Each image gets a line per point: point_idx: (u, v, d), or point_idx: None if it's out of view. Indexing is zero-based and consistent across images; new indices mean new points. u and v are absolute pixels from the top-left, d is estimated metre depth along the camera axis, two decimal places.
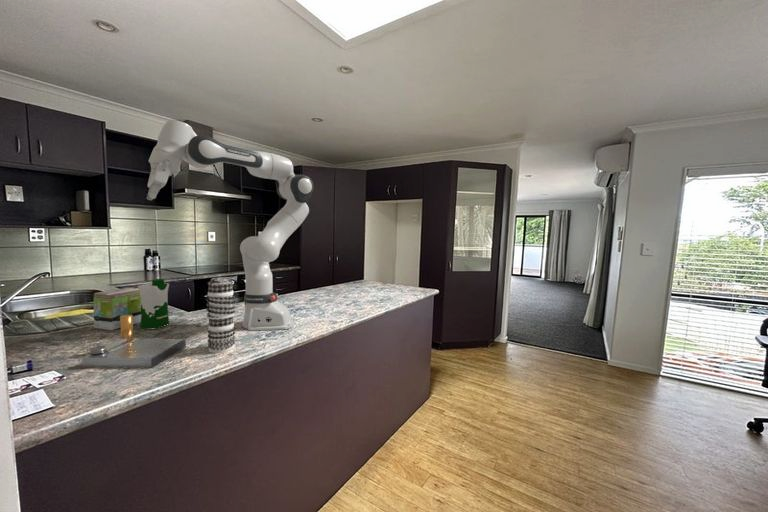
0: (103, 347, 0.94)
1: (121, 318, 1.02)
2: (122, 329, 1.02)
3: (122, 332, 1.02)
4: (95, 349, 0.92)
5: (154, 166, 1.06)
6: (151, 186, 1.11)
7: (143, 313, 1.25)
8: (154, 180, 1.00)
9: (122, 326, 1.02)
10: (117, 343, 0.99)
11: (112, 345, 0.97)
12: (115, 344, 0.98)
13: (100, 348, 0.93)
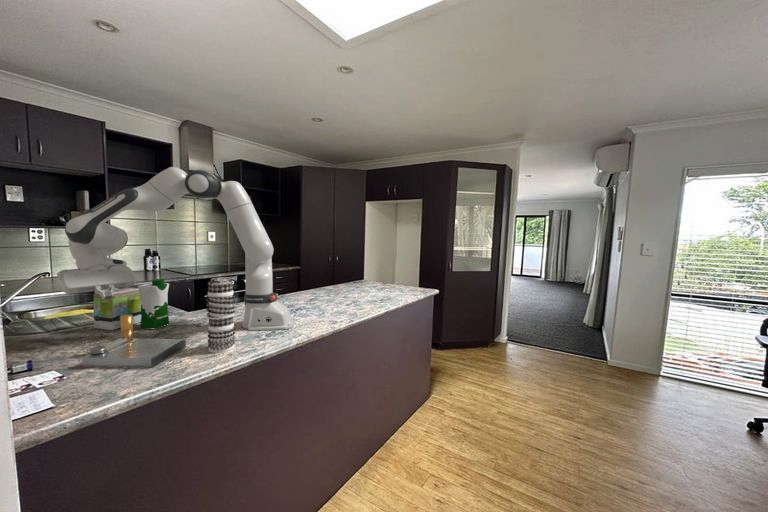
0: (103, 347, 0.94)
1: (121, 318, 1.02)
2: (122, 329, 1.02)
3: (122, 332, 1.02)
4: (95, 349, 0.92)
5: None
6: (106, 287, 1.12)
7: (143, 313, 1.25)
8: (65, 292, 1.03)
9: (122, 326, 1.02)
10: (117, 343, 0.99)
11: (112, 345, 0.97)
12: (115, 344, 0.98)
13: (100, 348, 0.93)
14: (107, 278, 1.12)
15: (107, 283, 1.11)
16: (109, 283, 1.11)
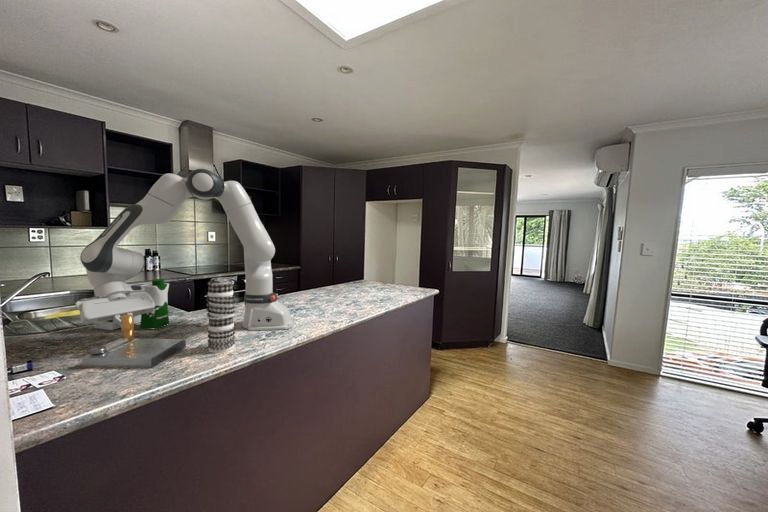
0: (103, 347, 0.94)
1: (122, 318, 1.02)
2: (123, 329, 1.02)
3: (123, 332, 1.02)
4: (95, 349, 0.92)
5: None
6: None
7: None
8: None
9: (123, 326, 1.02)
10: (117, 343, 0.99)
11: (112, 345, 0.97)
12: (115, 344, 0.98)
13: (100, 348, 0.93)
14: (126, 306, 1.08)
15: (126, 311, 1.07)
16: (128, 311, 1.07)
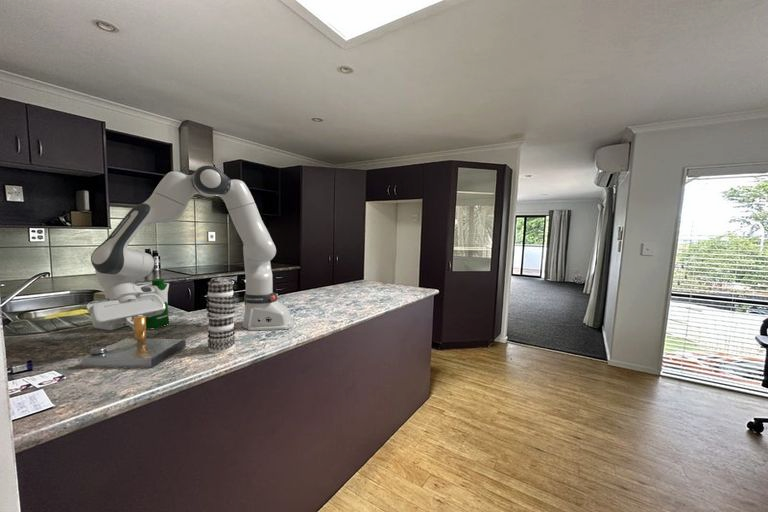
0: (102, 348, 0.93)
1: None
2: (134, 330, 1.01)
3: (134, 333, 1.02)
4: (94, 349, 0.92)
5: None
6: None
7: None
8: None
9: (134, 327, 1.01)
10: (123, 344, 0.98)
11: (115, 346, 0.96)
12: (120, 345, 0.97)
13: (99, 348, 0.93)
14: (136, 308, 1.06)
15: (137, 313, 1.05)
16: (139, 313, 1.06)
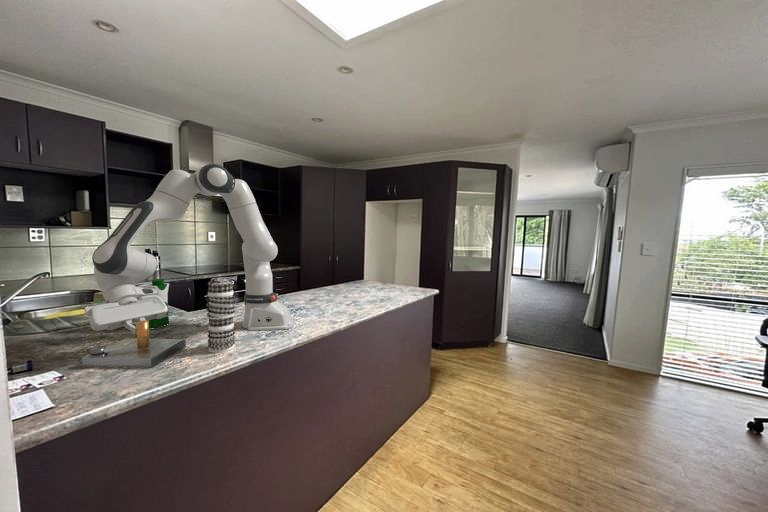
0: (100, 349, 0.93)
1: None
2: None
3: None
4: (94, 348, 0.93)
5: None
6: (137, 320, 1.02)
7: None
8: (93, 329, 0.92)
9: None
10: (121, 348, 0.95)
11: (114, 349, 0.94)
12: (118, 349, 0.95)
13: (96, 349, 0.93)
14: (137, 311, 1.01)
15: (138, 316, 1.00)
16: (140, 316, 1.01)
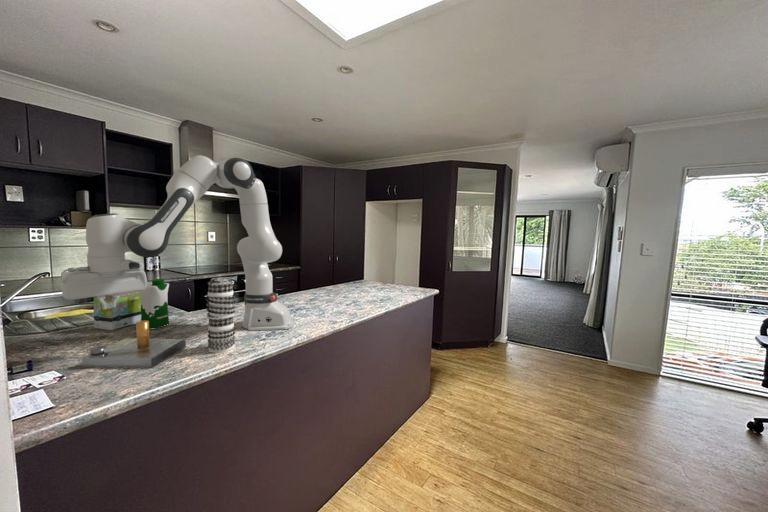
0: (100, 349, 0.93)
1: None
2: None
3: None
4: (94, 348, 0.93)
5: None
6: None
7: (143, 313, 1.25)
8: None
9: None
10: (121, 348, 0.95)
11: (114, 349, 0.94)
12: (118, 349, 0.95)
13: (96, 349, 0.93)
14: (115, 286, 0.97)
15: (113, 293, 0.97)
16: (115, 293, 0.97)
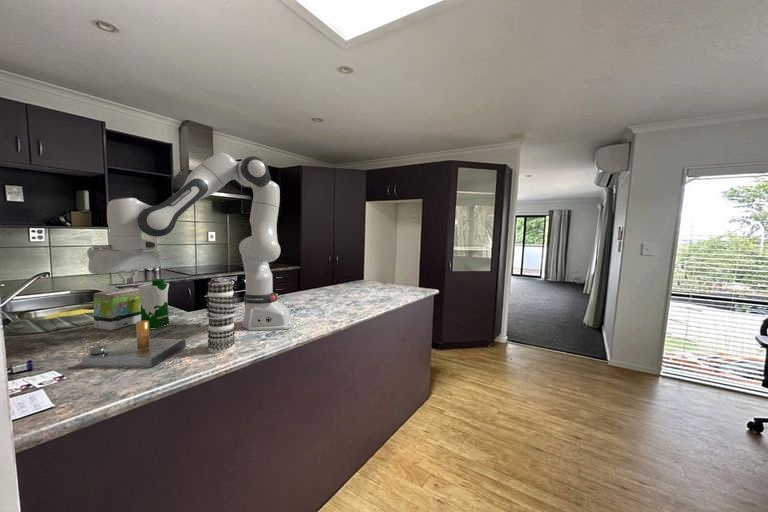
0: (100, 349, 0.93)
1: None
2: None
3: None
4: (94, 348, 0.93)
5: None
6: None
7: (143, 313, 1.25)
8: (90, 271, 1.00)
9: None
10: (121, 348, 0.95)
11: (114, 349, 0.94)
12: (118, 349, 0.95)
13: (96, 349, 0.93)
14: (134, 263, 1.08)
15: (132, 269, 1.08)
16: (134, 269, 1.08)
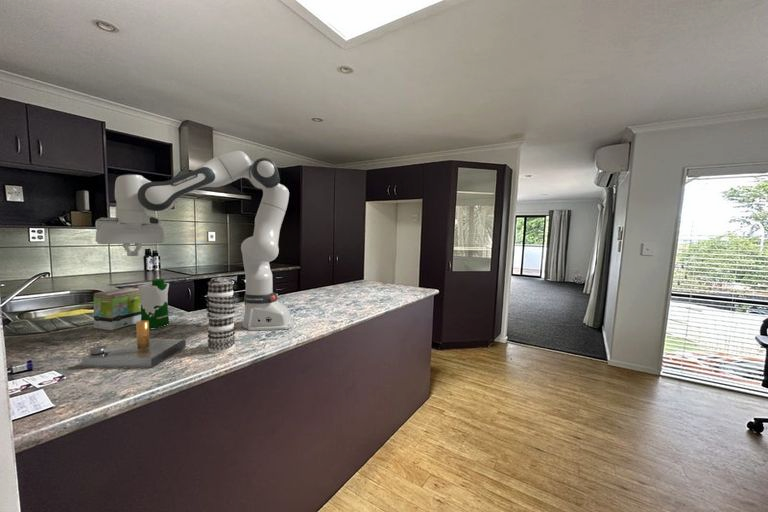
0: (100, 349, 0.93)
1: None
2: None
3: None
4: (94, 348, 0.93)
5: None
6: None
7: (143, 313, 1.25)
8: (97, 242, 1.06)
9: None
10: (121, 348, 0.95)
11: (114, 349, 0.94)
12: (118, 349, 0.95)
13: (96, 349, 0.93)
14: (138, 237, 1.14)
15: (136, 242, 1.14)
16: (138, 243, 1.15)
